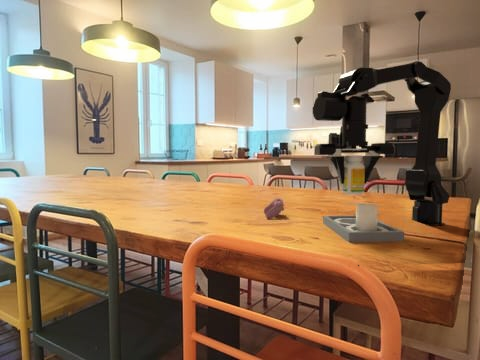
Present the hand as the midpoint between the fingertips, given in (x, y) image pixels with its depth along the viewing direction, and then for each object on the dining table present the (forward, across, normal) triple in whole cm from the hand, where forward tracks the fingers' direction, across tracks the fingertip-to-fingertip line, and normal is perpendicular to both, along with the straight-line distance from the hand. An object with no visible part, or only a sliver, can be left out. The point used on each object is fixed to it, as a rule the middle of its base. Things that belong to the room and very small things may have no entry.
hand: (353, 183), depth 87 cm
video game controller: (+12, +17, -22) cm, 31 cm away
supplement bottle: (+3, 0, 0) cm, 3 cm away
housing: (+12, 0, +4) cm, 13 cm away
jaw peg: (+11, 0, +9) cm, 14 cm away
